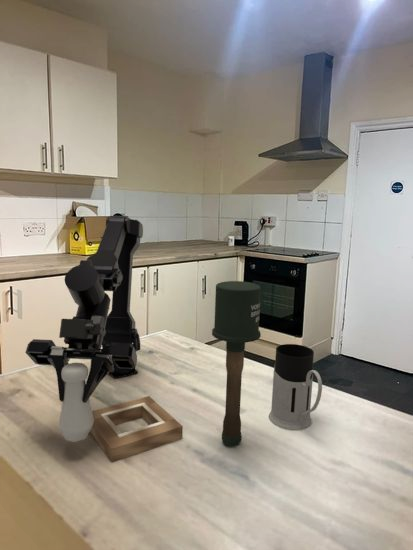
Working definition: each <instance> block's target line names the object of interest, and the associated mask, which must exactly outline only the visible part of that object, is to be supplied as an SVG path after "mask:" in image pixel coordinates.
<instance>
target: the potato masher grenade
mask: <svg viewBox="0 0 413 550" xmlns="http://www.w3.org/2000/svg"><path fill="white" fill-rule="evenodd" d="M261 291H262V289H261V286H260V285H259V284H257V283H254V282H249V281H240V280H229V281H226V280H225V281H221V282H218V283H216V285H215V297H214V298H215V299H214V300H215V302H214V307H215V308H214V325H213V326H214V327H213V328H212V330H211V335H212V336H213V338H215V339H216V340H220V341H223V342H226V343H225V344H226V345H225V350H226V351H225V352H226V353H225V354H226V355H225V367H226V389H225V413H224V417H223V422H222V432H221V441H222V444H224V445H225V447H228V448H235V447H238V446H239V445H240V443H241V441H242V439H243V438H242V421H241V419H242V418H241V397H242V396H241V393H242V378H243V376H242V375H243V370H244V362H245V349H246V344H247V343H252V342H255V341H257V340H259V339H260V338H261V334H262V333H261V331H260V315H261V314H260V312H261V294H262V293H261Z"/></svg>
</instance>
